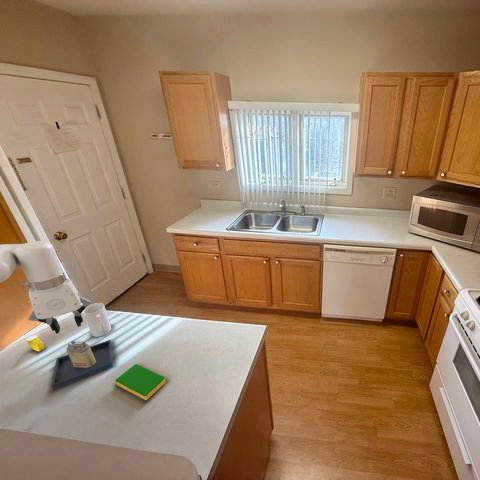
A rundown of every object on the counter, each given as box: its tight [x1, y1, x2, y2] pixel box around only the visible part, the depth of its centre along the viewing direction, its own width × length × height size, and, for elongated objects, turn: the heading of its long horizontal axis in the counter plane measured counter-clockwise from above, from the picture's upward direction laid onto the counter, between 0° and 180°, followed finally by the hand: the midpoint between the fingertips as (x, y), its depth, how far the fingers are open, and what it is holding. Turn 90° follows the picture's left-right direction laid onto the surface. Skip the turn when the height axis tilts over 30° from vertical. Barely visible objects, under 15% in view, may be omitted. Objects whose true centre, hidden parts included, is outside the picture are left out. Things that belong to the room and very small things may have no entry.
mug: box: [81, 302, 112, 338], centre depth 102 cm, size 10×7×12 cm, turn 52°
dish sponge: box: [115, 363, 166, 401], centre depth 85 cm, size 7×14×2 cm, turn 69°
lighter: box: [66, 340, 96, 368], centre depth 89 cm, size 7×4×10 cm, turn 88°
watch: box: [26, 334, 45, 352], centre depth 94 cm, size 6×3×6 cm, turn 73°
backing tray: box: [51, 339, 114, 391], centre depth 91 cm, size 15×13×2 cm
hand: (69, 327), depth 84 cm, fingers open, 4 cm apart
